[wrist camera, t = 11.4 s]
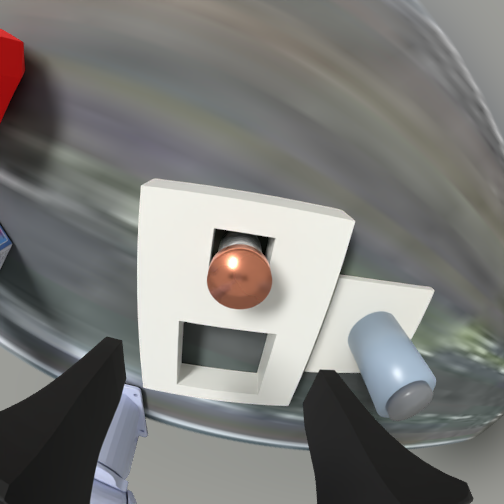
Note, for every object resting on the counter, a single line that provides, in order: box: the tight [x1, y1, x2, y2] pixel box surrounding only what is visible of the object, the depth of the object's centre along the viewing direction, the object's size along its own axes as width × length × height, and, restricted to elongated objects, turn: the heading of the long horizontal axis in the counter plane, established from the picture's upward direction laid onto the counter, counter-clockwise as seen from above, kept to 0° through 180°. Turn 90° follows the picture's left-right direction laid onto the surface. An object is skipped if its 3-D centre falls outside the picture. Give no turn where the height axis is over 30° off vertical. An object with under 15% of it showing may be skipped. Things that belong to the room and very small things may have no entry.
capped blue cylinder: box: [348, 311, 436, 421], centre depth 18 cm, size 4×4×8 cm
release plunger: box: [207, 231, 272, 309], centre depth 16 cm, size 3×3×4 cm
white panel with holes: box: [137, 178, 355, 406], centre depth 19 cm, size 16×12×2 cm
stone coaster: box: [304, 274, 434, 373], centre depth 22 cm, size 9×9×1 cm
